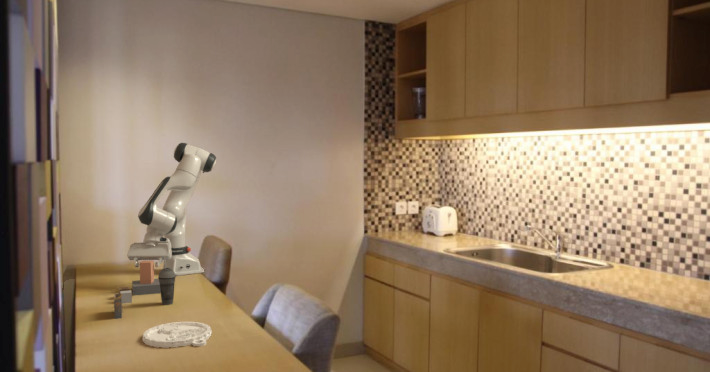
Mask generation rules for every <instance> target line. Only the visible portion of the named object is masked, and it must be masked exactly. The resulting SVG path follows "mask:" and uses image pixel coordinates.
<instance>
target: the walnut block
mask: <svg viewBox="0 0 710 372" xmlns="http://www.w3.org/2000/svg"><path fill="white" fill-rule="evenodd" d="M128 290H131V286H123V287H121V286H120V287H118V294H120V291H128Z"/></svg>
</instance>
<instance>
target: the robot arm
mask: <svg viewBox="0 0 710 372" xmlns="http://www.w3.org/2000/svg"><path fill="white" fill-rule="evenodd" d="M173 158H174V160H175V162H176V161H177V162H178V164H177V167H176V169H175V171H174V172H173V173H172V175H170V176H166V177H165V178H164V179H162V180H161V182H160V183H159V184H158V186H157V187H156V188H155V190H154V191H153V192H152V194H151V196H150V197H149V198H148V199H147V201H146V202H145V203H144V205H143V206H142V207H141V208H140V210H139V212H138V216H137V217H138V220H139V222H140V224H142V225H146V226H147V227H146V232H145V234H144V238H143V242H134V243H132V244H130V246H129V249H128V251H127V258H128V260H129V261H134V267H135V268H140V262H139V261H157V262H154V267H155V268H159V267H160V265H161V263H163V266H162V269H164V268H165V266H164V258H165V264H166V268H171V269H172V270H173V271H174V272H175V276H177V277H178V276H184V275H185V276H186V275H194V274H201V273H204V272H205V271H204V269H205V268H204V267H203V266H201V262H200V259H199V258H198V257H197V256H195V255H194V254H192V253H191V251H192V248H191V247H190V246H187V245H186V226H187V207H188V205H189V202H190V200H191V198H192V197H193V194H194V191H195V190H196V187H197V184H198V182H199V180H200V176H201V173H203V174H204V173H209V172H212V170H214V169H215V166H216V163H217V157H216V155H215V154H213V153H212V152H209V151H207V150H205V149H203V148H201V147H197V146H195V145H192V144H189V143H187V142H180V143H178V144H177V145H176V146H175V148H174V151H173ZM168 191H170V192H169V194H168V196H167V198H166V200H165V201H164V202H165V203H164V204H163V206H162V208H160V207H159V206H158V203H159V202H160V200H161V199H162V198H163V196H164V195H165V193H166V192H168ZM202 267H203V268H204V269H203V268H202Z"/></svg>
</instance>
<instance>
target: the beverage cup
mask: <svg viewBox="0 0 710 372" xmlns="http://www.w3.org/2000/svg"><path fill="white" fill-rule="evenodd" d="M163 264H164V266H165V268H164V269H163V268H162V269H161V270H160V271H159V273H158V278H157V279H159V283H160V291H161V293H160V299H161V305H162V306H169V305H173V303H174V296H175V295H174V293H175V283H176V278H177V277H176V276H175V272H174V271H173V270H172V269H171V268H166V264H165V258H164V260H163Z"/></svg>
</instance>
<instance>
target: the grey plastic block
mask: <svg viewBox="0 0 710 372" xmlns="http://www.w3.org/2000/svg"><path fill="white" fill-rule="evenodd" d="M121 293H122V304H130V303H131V304H132V303H133V300H132V299H133V291H132V290H131V289H130V290H128V291H120V294H121Z"/></svg>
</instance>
